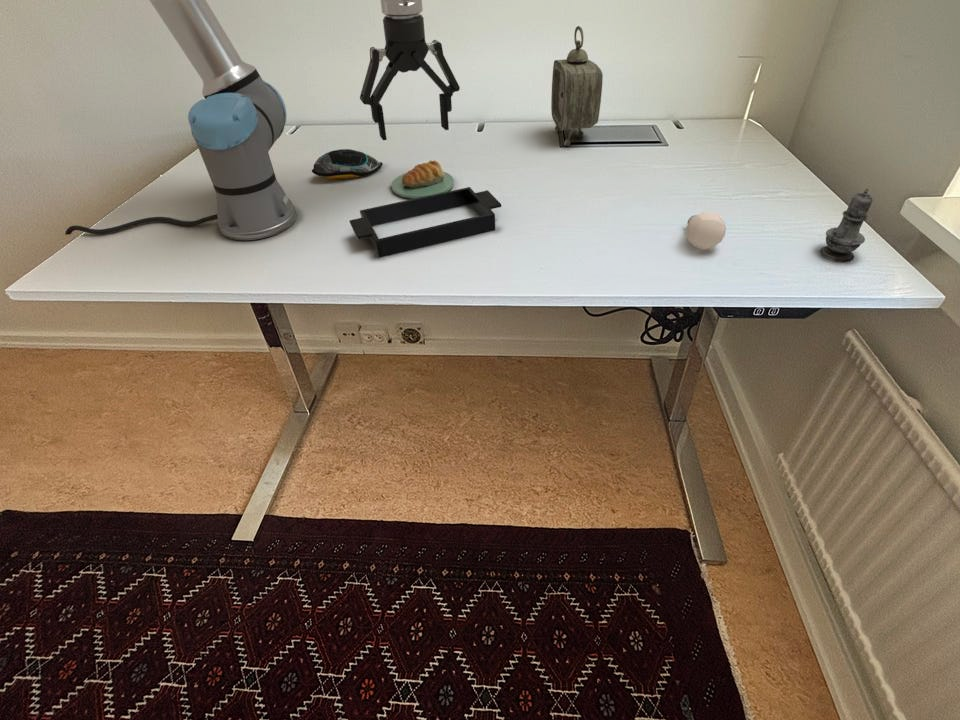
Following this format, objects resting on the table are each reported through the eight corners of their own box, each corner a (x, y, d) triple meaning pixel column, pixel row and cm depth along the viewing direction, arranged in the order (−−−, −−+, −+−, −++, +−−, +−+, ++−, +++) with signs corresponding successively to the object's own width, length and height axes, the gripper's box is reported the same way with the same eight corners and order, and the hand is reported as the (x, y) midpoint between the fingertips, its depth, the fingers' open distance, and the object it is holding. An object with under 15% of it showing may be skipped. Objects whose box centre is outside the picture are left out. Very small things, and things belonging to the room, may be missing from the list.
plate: (401, 205, 114) (401, 201, 114) (385, 180, 124) (384, 176, 123) (463, 192, 118) (462, 188, 117) (442, 169, 127) (441, 165, 127)
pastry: (412, 193, 116) (410, 176, 114) (396, 183, 120) (393, 167, 118) (447, 180, 120) (446, 163, 118) (430, 171, 124) (428, 155, 122)
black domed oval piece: (388, 172, 127) (384, 147, 124) (318, 188, 122) (312, 163, 118) (377, 160, 133) (373, 136, 129) (310, 174, 128) (304, 150, 124)
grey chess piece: (838, 266, 91) (870, 200, 83) (810, 250, 95) (838, 185, 87) (863, 258, 92) (897, 192, 84) (834, 242, 96) (864, 178, 88)
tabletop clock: (549, 129, 144) (554, 21, 127) (582, 127, 145) (592, 19, 128) (561, 149, 133) (569, 34, 117) (597, 146, 134) (609, 32, 117)
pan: (364, 261, 98) (360, 244, 96) (349, 229, 107) (345, 213, 105) (508, 227, 105) (508, 210, 103) (482, 199, 115) (481, 184, 112)
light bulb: (682, 200, 100) (699, 212, 91) (717, 207, 101) (737, 219, 91) (670, 234, 103) (686, 249, 94) (704, 241, 103) (722, 257, 94)
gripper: (339, 25, 93) (360, 148, 107) (473, 11, 99) (476, 129, 114) (331, 17, 98) (352, 136, 112) (459, 5, 105) (463, 118, 119)
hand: (414, 133), depth 113 cm, fingers open, 13 cm apart
